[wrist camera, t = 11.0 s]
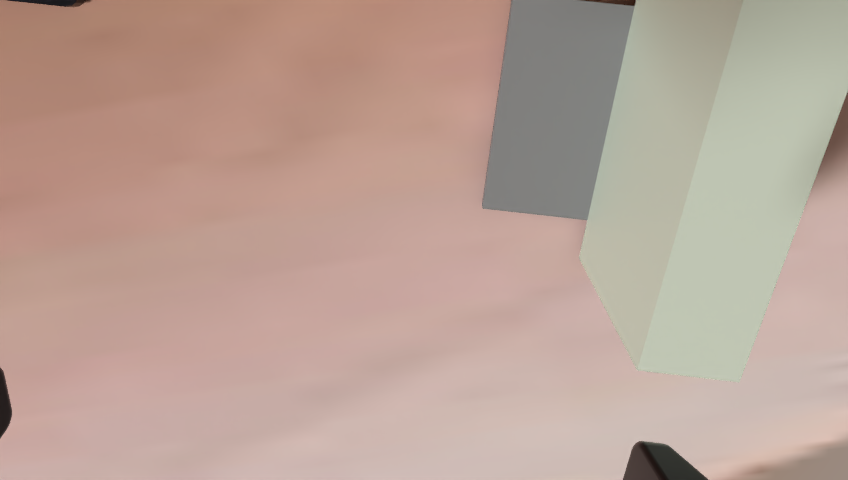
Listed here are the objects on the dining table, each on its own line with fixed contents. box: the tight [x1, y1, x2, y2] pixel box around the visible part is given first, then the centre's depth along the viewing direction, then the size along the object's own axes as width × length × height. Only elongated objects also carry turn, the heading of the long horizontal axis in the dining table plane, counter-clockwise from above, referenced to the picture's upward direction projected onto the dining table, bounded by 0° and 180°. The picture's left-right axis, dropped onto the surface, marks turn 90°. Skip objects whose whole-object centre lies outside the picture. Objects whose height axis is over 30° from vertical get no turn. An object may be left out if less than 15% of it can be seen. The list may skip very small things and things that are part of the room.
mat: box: [482, 0, 635, 220], centre depth 18 cm, size 10×7×1 cm
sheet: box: [579, 0, 848, 382], centre depth 15 cm, size 2×10×7 cm, turn 175°
